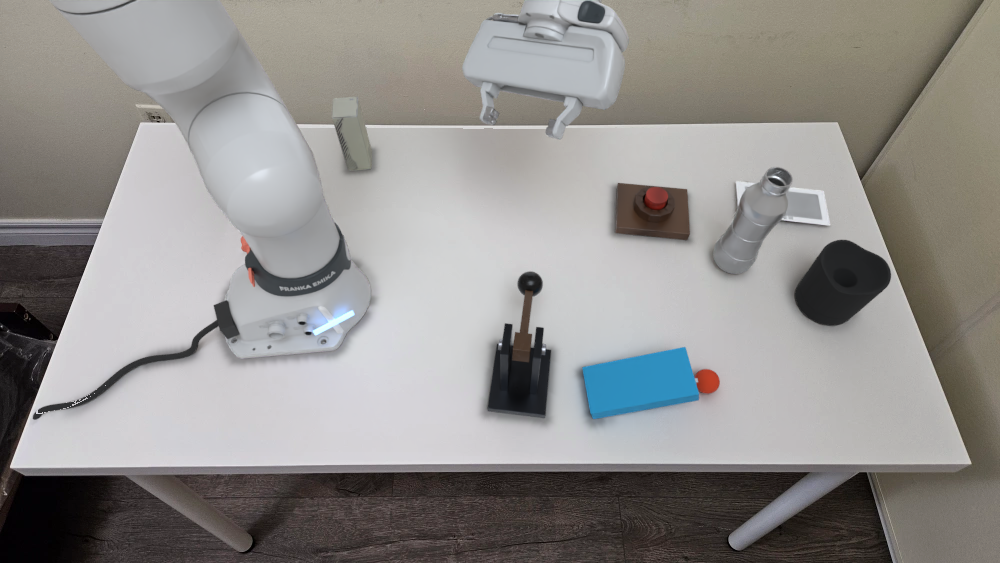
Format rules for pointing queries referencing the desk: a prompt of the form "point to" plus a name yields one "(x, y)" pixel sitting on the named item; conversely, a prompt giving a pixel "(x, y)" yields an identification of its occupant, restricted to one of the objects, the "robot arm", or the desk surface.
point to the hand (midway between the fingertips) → (518, 129)
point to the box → (352, 133)
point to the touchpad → (799, 204)
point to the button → (656, 198)
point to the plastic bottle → (753, 221)
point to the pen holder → (841, 282)
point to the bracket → (520, 378)
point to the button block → (651, 213)
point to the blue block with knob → (645, 383)
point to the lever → (526, 315)
